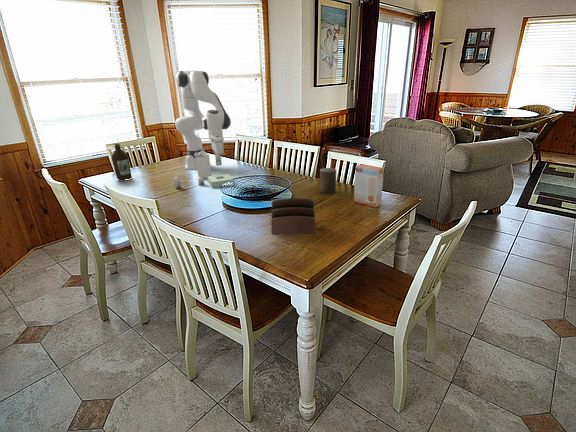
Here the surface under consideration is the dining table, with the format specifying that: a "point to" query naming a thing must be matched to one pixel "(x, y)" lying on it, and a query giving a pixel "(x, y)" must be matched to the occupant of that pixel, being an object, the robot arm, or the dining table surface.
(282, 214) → the letter holder
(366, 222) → the dining table surface
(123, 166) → the olive oil
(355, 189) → the cracker box
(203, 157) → the milk carton
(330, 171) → the pillar candle
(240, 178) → the dining table surface
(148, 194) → the dining table surface
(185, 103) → the robot arm
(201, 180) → the short pin
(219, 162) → the tall pin
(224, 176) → the socket block
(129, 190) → the dining table surface
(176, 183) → the medium pin
